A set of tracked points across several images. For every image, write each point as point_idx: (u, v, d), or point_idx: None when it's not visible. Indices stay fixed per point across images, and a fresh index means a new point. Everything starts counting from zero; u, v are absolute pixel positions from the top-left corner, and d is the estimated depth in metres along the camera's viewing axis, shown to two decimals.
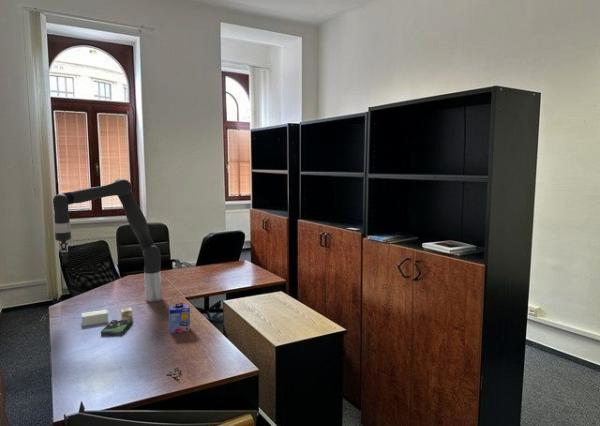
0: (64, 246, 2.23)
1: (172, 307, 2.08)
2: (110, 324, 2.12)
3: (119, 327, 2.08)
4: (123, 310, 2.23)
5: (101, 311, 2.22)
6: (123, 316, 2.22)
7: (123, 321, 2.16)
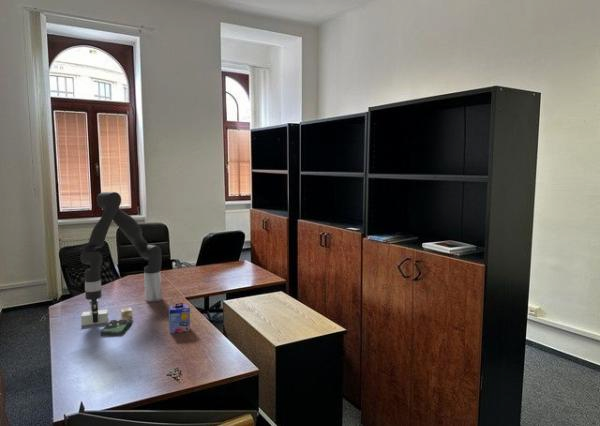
0: (95, 307, 2.13)
1: (172, 307, 2.08)
2: (109, 324, 2.12)
3: (118, 327, 2.08)
4: (123, 310, 2.23)
5: (101, 311, 2.22)
6: (123, 316, 2.22)
7: (122, 321, 2.16)
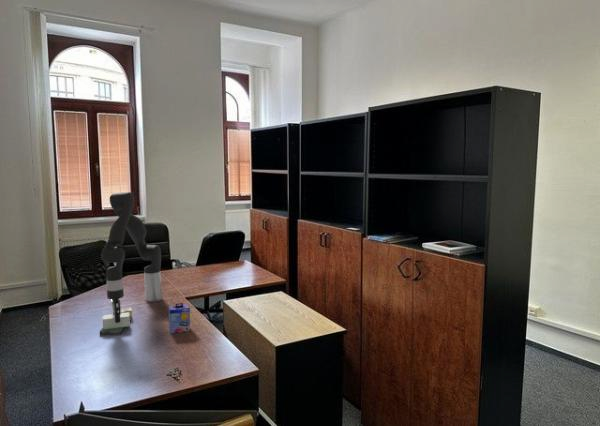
0: (118, 306, 2.03)
1: (172, 307, 2.08)
2: None
3: None
4: (123, 310, 2.23)
5: (123, 314, 2.12)
6: None
7: None
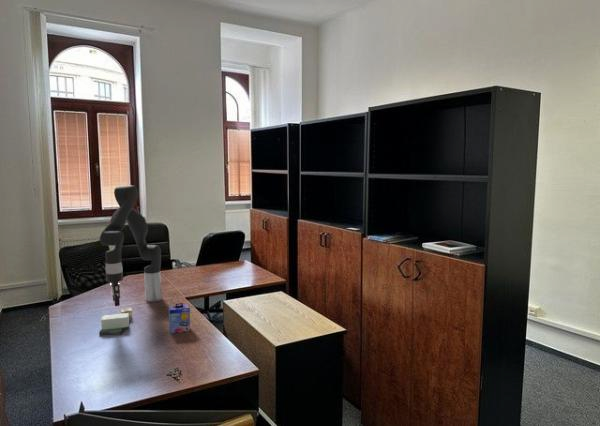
0: (117, 289, 2.02)
1: (172, 307, 2.08)
2: None
3: (117, 328, 2.08)
4: (123, 310, 2.23)
5: (122, 314, 2.12)
6: None
7: None
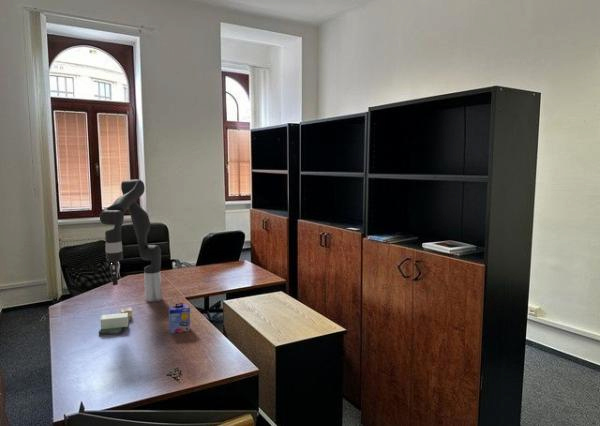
0: (114, 268, 2.03)
1: (172, 307, 2.08)
2: None
3: None
4: (123, 310, 2.23)
5: (121, 314, 2.12)
6: None
7: None
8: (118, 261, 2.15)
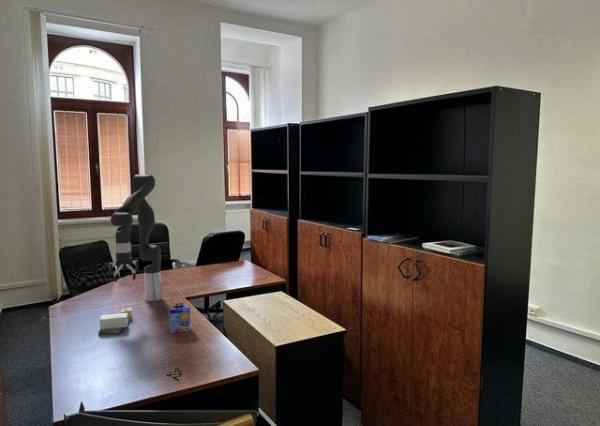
0: None
1: (172, 307, 2.08)
2: None
3: None
4: (123, 310, 2.23)
5: (121, 314, 2.12)
6: None
7: None
8: (135, 263, 2.23)
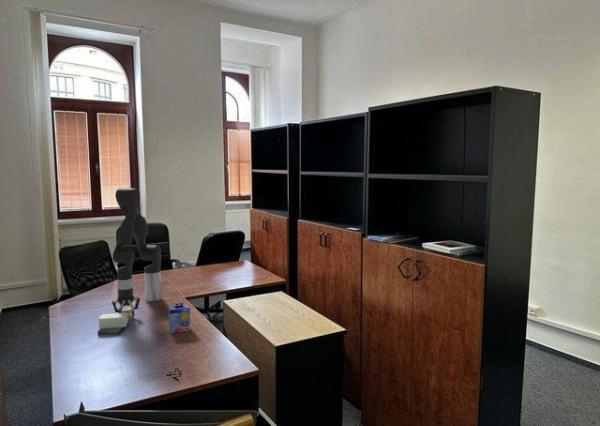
0: None
1: (172, 307, 2.08)
2: None
3: None
4: (123, 310, 2.23)
5: (120, 314, 2.12)
6: None
7: None
8: (137, 300, 2.25)
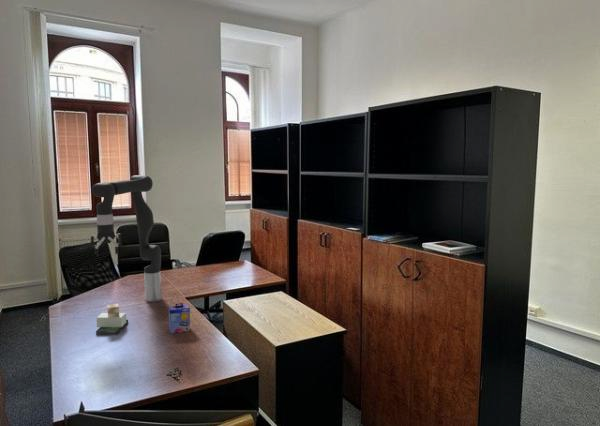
0: None
1: (172, 307, 2.08)
2: None
3: (114, 327, 2.09)
4: (109, 306, 2.09)
5: None
6: (109, 312, 2.07)
7: None
8: (118, 236, 2.14)
